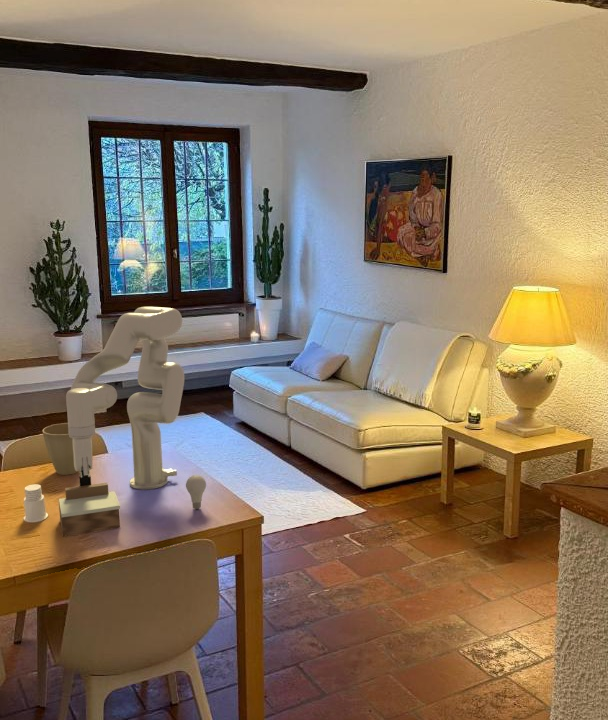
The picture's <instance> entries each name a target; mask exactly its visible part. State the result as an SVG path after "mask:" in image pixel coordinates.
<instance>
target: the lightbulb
mask: <svg viewBox="0 0 608 720" xmlns="http://www.w3.org/2000/svg"><path fill="white" fill-rule="evenodd" d="M185 482H186V483H185V488H186V490H187V492H188V493H189V496H190V499H191V502H192V508H193V509H194V510H199V509H200V508H201V506H202V501H203V495H204V493H205V489H206V487H207V483H206V480H205V478H204V477H203V476H201V475H199V474H193V475H191V476H189V477H188V479H187V480H186V481H185Z"/></svg>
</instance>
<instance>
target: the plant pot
mask: <svg viewBox="0 0 608 720" xmlns="http://www.w3.org/2000/svg"><path fill="white" fill-rule="evenodd" d="M42 435H43V438H44V443H45V447H46V450H47V453H48V455H49V459H50V461H51V464H52V466H53V468H54V470H55V472H56V474H58V475H60V476H67V475H69V476H70V475H73V474H76V473H78V472H79V470H78V471H76V470H75V467H74V460H73V441H72V440H73V438H70V437H69V431H68V422H64V423H63V422H62V423H56V424H51V425H48V426H46V427H44V428H43V429H42Z"/></svg>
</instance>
